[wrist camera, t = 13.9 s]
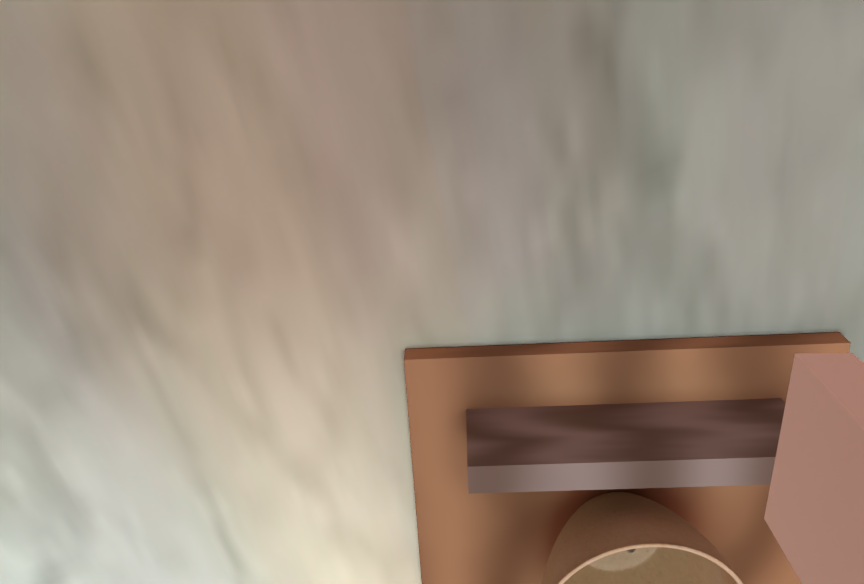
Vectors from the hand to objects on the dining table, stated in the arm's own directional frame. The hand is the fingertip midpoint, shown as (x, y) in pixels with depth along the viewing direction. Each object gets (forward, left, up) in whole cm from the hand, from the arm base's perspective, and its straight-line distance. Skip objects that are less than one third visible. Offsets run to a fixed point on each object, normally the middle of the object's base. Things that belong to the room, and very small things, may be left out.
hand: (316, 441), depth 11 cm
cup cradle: (+10, -23, -27) cm, 36 cm away
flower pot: (+10, -23, -26) cm, 36 cm away
